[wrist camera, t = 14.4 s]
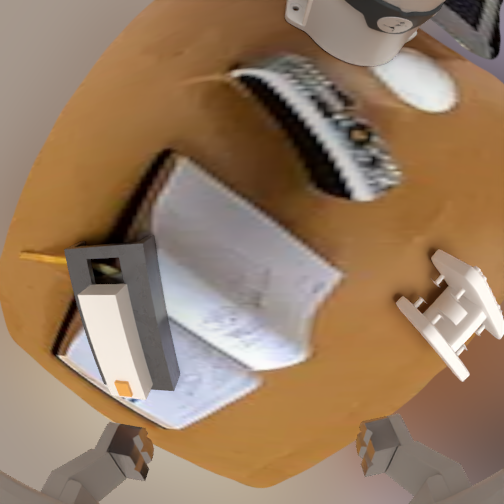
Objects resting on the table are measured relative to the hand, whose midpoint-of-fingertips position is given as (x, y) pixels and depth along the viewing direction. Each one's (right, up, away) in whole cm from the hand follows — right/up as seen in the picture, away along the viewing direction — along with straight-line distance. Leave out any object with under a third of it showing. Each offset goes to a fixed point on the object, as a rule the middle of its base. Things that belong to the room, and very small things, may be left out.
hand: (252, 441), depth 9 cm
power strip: (-18, -4, +31) cm, 36 cm away
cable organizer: (+28, 0, +30) cm, 41 cm away
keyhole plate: (-18, -2, +31) cm, 36 cm away
